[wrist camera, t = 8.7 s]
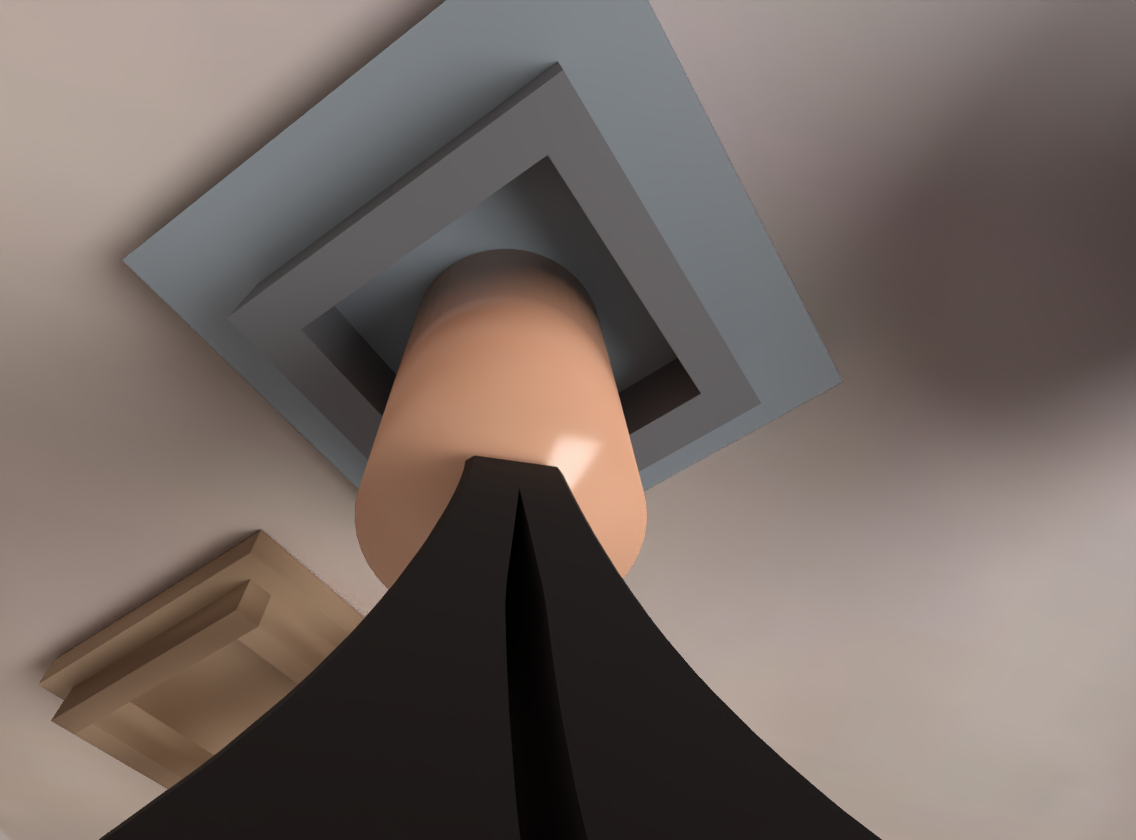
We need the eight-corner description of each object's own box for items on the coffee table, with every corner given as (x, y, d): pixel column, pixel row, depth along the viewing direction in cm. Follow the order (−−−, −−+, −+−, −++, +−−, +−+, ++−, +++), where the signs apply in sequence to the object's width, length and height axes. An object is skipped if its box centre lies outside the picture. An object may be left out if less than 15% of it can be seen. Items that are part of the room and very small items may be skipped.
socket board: (825, 360, 19) (877, 422, 16) (465, 562, 22) (457, 644, 19) (584, -107, 14) (600, -133, 11) (146, 243, 16) (71, 292, 14)
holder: (453, 693, 25) (447, 750, 23) (263, 789, 27) (244, 849, 25) (261, 529, 21) (235, 583, 19) (56, 658, 23) (14, 717, 21)
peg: (612, 258, 16) (670, 411, 10) (588, 425, 18) (623, 635, 12) (414, 239, 16) (348, 389, 9) (413, 414, 18) (359, 626, 12)
